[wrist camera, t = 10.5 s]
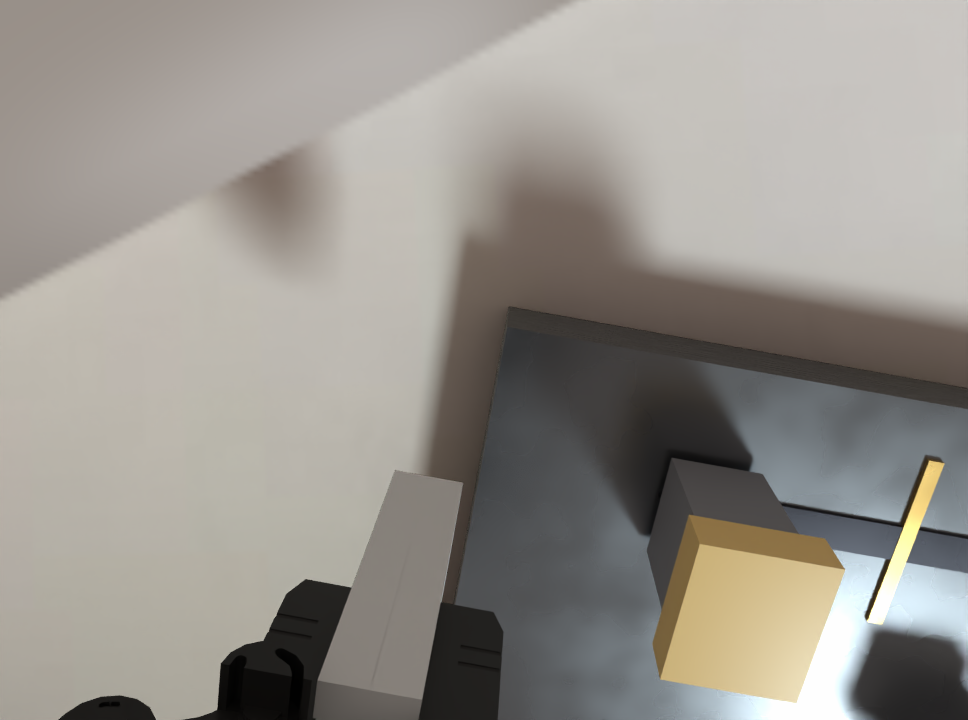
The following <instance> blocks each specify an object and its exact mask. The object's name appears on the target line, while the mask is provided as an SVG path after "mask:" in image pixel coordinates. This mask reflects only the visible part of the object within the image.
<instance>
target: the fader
mask: <svg viewBox="0 0 968 720" xmlns="http://www.w3.org/2000/svg"><path fill="white" fill-rule="evenodd" d="M647 554H648V558H649V562H650V566H651V570H652V574H653V578H654V582H655V585H656V589H657V593H658V597H659V601H660V605H661V609H662V611H661V614H660V618H659V621H658V625H657V628H656V632H655V635H654V639H653V642H652V645H653V650H654V654H655V659H656V663H657V668H658V672H659V677H660V680H666V681H671V682H677V683H683V684H688V685H694V686H700V687H705V688H711V689H717V690H723V691H728V692H734V693H740V694H745V695H751V696H757V697H762V698H768V699H774V700H779V701H785V702H791V703H797V701H798V698H799V696H800V693H801V690H802V687H803V685H804V682H805V679H806V677H807V674H808V671H809V668H810V666H811V663H812V660H813V657H814V655H815V652H816V649H817V646H818V644H819V641H820V638H821V635H822V633H823V630H824V627H825V624H826V622H827V619H828V616H829V613H830V611H831V608H832V605H833V602H834V600H835V597H836V594H837V591H838V589H839V586H840V583H841V580H842V578H843V575H844V572H845V568H844V567H843V565H842V564H841V562H840V561H839V559H838V558H837V556H836V555H835V553H834V552H833V550H832V549H831V547H830V545H829V544H828V542H827V541H826V539H824V538H818V537H812V536H807V535H801V534H799V533H798V532H797V530H796V528H795V527H794V525H793V523H792V522H791V520H790V518H789V517H788V515H787V513H786V512H785V510H784V508H783V507H782V505H781V503H780V502H779V500H778V498H777V497H776V495H775V493H774V492H773V490H772V488H771V487H770V485H769V484H768V482H767V480H766V479H765V477H764V475H763V474H760V473H755V472H749V471H743V470H738V469H732V468H726V467H721V466H715V465H710V464H704V463H698V462H693V461H687V460H681V459H676V458H671V462H670V466H669V469H668V473H667V477H666V481H665V484H664V488H663V492H662V495H661V499H660V503H659V506H658V510H657V514H656V518H655V521H654V525H653V529H652V532H651V536H650V540H649V544H648V547H647Z"/></svg>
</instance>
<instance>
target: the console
mask: <svg viewBox="0 0 968 720" xmlns="http://www.w3.org/2000/svg"><path fill="white" fill-rule="evenodd" d="M671 458H676V459H681V460H687V461H693V462H698V463H704V464H710V465H715V466H721V467H726V468H732V469H738V470H743V471H749V472H755V473H760V474H763V475H764V477H765V479H766V480H767V482H768V484H769V485H770V487H771V488H772V490H773V492H774V493H775V495H776V497H777V498H778V500H779V502H780V503H781V505H782V507H783V508H784V510H785V512H786V513H787V515H788V517H789V518H790V520H791V522H792V523H793V525H794V527H795V528H796V530H797V532H798V533H799V534H801V535H807V536H812V537H818V538H824V539H826V541H827V542H828V544H829V545H830V547H831V549H832V550H833V552H834V553H835V555H836V556H837V558H838V559H839V561H840V562H841V564H842V565H843V567H844V568H845V572H844V575H843V578H842V580H841V583H840V586H839V589H838V591H837V594H836V597H835V600H834V602H833V605H832V608H831V611H830V613H829V616H828V619H827V622H826V624H825V627H824V630H823V633H822V635H821V638H820V641H819V644H818V646H817V649H816V652H815V655H814V657H813V660H812V663H811V666H810V668H809V671H808V674H807V677H806V679H805V682H804V685H803V687H802V690H801V693H800V696H799V698H798V701H797V703H791V702H785V701H779V700H774V699H768V698H762V697H757V696H751V695H745V694H740V693H734V692H728V691H723V690H717V689H711V688H705V687H700V686H694V685H688V684H683V683H677V682H671V681H666V680H660V677H659V672H658V668H657V663H656V659H655V654H654V650H653V645H652V642H653V639H654V635H655V632H656V628H657V625H658V621H659V618H660V614H661V611H662V609H661V605H660V601H659V597H658V593H657V589H656V585H655V582H654V578H653V574H652V570H651V566H650V562H649V558H648V554H647V547H648V544H649V540H650V536H651V532H652V529H653V525H654V521H655V518H656V514H657V510H658V506H659V503H660V499H661V495H662V492H663V488H664V484H665V481H666V477H667V473H668V469H669V466H670V462H671ZM453 605H459V606H464V607H470V608H475V609H480V610H486V611H491V612H494V614H495V616H496V618H497V620H498V622H499V624H500V626H501V628H502V630H503V632H504V633H503V648H502V663H501V678H500V693H499V708H498V720H968V389H967V388H962V387H956V386H950V385H945V384H939V383H934V382H928V381H922V380H917V379H911V378H906V377H900V376H894V375H889V374H883V373H878V372H872V371H866V370H861V369H855V368H850V367H844V366H838V365H833V364H827V363H822V362H816V361H810V360H805V359H799V358H794V357H788V356H782V355H777V354H771V353H766V352H760V351H754V350H749V349H743V348H738V347H732V346H726V345H721V344H715V343H710V342H704V341H698V340H693V339H687V338H682V337H676V336H670V335H665V334H659V333H654V332H648V331H642V330H637V329H631V328H626V327H620V326H614V325H609V324H603V323H597V322H592V321H586V320H581V319H575V318H569V317H564V316H558V315H553V314H547V313H541V312H536V311H530V310H525V309H519V308H513V307H509V309H508V314H507V320H506V325H505V330H504V336H503V341H502V346H501V352H500V357H499V362H498V368H497V373H496V379H495V384H494V389H493V395H492V400H491V405H490V411H489V416H488V421H487V427H486V432H485V438H484V443H483V448H482V454H481V459H480V464H479V470H478V475H477V480H476V486H475V491H474V496H473V502H472V507H471V513H470V518H469V523H468V529H467V534H466V539H465V545H464V550H463V555H462V561H461V566H460V572H459V577H458V582H457V588H456V593H455V598H454V604H453Z"/></svg>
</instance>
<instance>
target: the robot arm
mask: <svg viewBox="0 0 968 720" xmlns="http://www.w3.org/2000/svg"><path fill="white" fill-rule="evenodd" d="M462 487H463V483H462V482H457V481H451V480H446V479H440V478H435V477H429V476H424V475H419V474H413V473H408V472H402V471H397V470H395V472H394V475H393V477H392V480H391V483H390V485H389V488H388V491H387V493H386V496H385V499H384V502H383V504H382V507H381V510H380V512H379V515H378V518H377V521H376V523H375V526H374V529H373V531H372V534H371V537H370V539H369V542H368V545H367V548H366V550H365V553H364V556H363V558H362V561H361V564H360V567H359V569H358V572H357V575H356V577H355V580H354V583H353V586H352V588H350V587H345V586H340V585H334V584H329V583H323V582H318V581H312V580H307V579H305V580H304V581H303V582H302V583H300V584H299V585H298V586H296V587H295V588H294V589H292V590H291V591H290V592H288V593H287V594H286V596H285V598H284V600H283V602H282V604H281V606H280V608H279V610H278V612H277V616H276V617H275V618H274V620H273V623H272V625H271V627H270V629H269V632H268V633H267V635H266V637H265V639H264V641H260V642H256V643H251V644H246V645H244V646H242V647H240V648H238V649H236V650H234V651H233V652H231V653H230V654H229V655H228V656H227V657H226V658H225V660H224V661H223V662H222V663H221V669H220V682H219V695H218V708H217V710H216V711H214V712H212V713H209V714H207V715H204V716H201V717H197V718H191V719H185V720H498V708H499V693H500V678H501V663H502V648H503V633H504V632H503V630H502V628H501V626H500V624H499V622H498V620H497V618H496V616H495V614H494V612H491V611H486V610H480V609H475V608H470V607H464V606H459V605H453V604H448V603H442V597H443V592H444V586H445V581H446V575H447V570H448V564H449V559H450V553H451V547H452V542H453V536H454V531H455V525H456V520H457V514H458V509H459V503H460V498H461V492H462ZM59 720H156V719H155V717H154V715H153V713H152V711H151V709H150V707H148V706H147V705H145V704H144V703H142V702H141V701H139V700H138V699H134V698H129V697H125V696H107V697H99V698H96V699H93V700H90V701H87V702H84V703H81V704H80V705H78V706H77V707H75V708H74V709H72V710H70V711H69V712H67V713H66V714H65V715H63V716H62V717H61V718H60V719H59Z"/></svg>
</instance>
